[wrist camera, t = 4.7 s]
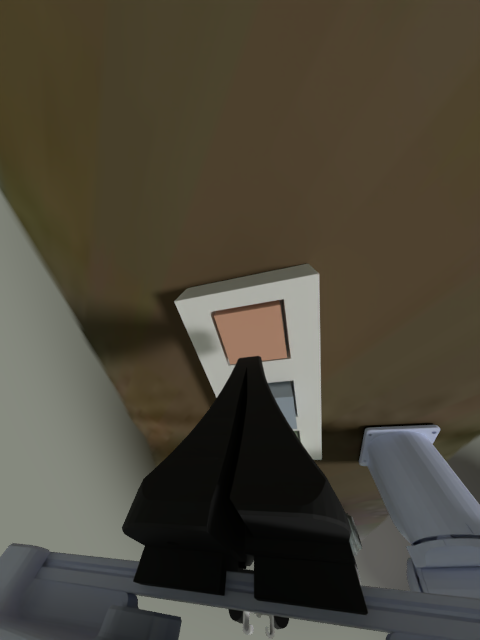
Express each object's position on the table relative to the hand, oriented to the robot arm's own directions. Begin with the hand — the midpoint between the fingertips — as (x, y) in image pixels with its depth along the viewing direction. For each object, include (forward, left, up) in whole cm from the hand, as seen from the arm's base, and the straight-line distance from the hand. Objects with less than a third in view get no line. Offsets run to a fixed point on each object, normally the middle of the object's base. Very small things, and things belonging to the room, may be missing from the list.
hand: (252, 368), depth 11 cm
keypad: (-8, 0, -6) cm, 10 cm away
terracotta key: (0, 0, -5) cm, 5 cm away
